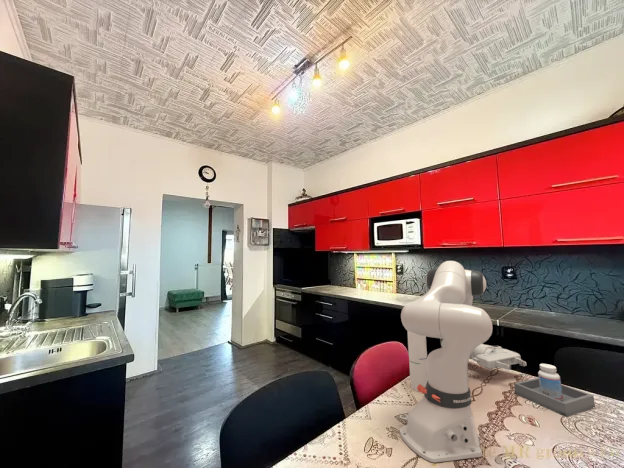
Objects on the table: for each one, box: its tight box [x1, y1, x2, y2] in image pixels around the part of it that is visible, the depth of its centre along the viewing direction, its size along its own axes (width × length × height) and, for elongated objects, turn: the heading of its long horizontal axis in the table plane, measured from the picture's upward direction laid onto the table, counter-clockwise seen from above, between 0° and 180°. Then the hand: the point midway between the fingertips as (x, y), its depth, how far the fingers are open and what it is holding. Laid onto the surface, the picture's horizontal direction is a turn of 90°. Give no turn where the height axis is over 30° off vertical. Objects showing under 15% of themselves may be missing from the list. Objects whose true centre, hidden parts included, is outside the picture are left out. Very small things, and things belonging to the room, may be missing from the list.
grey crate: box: [513, 376, 596, 418], centre depth 95 cm, size 16×16×4 cm
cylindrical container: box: [406, 330, 428, 393], centre depth 107 cm, size 7×7×25 cm
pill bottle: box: [537, 363, 563, 401], centre depth 95 cm, size 6×6×11 cm
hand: (517, 365), depth 106 cm, fingers open, 8 cm apart
